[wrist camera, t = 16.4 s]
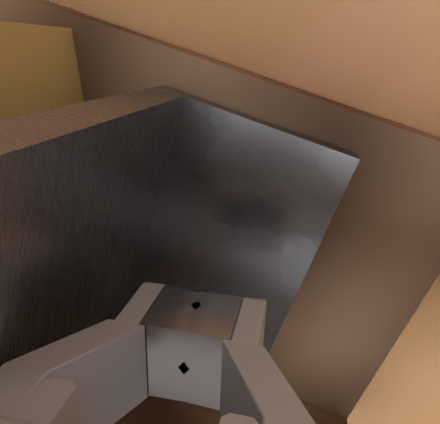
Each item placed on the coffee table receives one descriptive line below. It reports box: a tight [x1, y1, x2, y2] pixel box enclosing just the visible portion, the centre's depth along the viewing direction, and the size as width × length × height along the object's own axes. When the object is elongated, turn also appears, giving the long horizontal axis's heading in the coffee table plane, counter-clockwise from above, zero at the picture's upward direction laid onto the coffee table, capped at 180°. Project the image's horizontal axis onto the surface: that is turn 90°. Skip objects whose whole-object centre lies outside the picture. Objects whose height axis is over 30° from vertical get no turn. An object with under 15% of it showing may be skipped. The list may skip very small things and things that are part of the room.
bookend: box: [0, 85, 360, 367], centre depth 10 cm, size 6×8×8 cm
